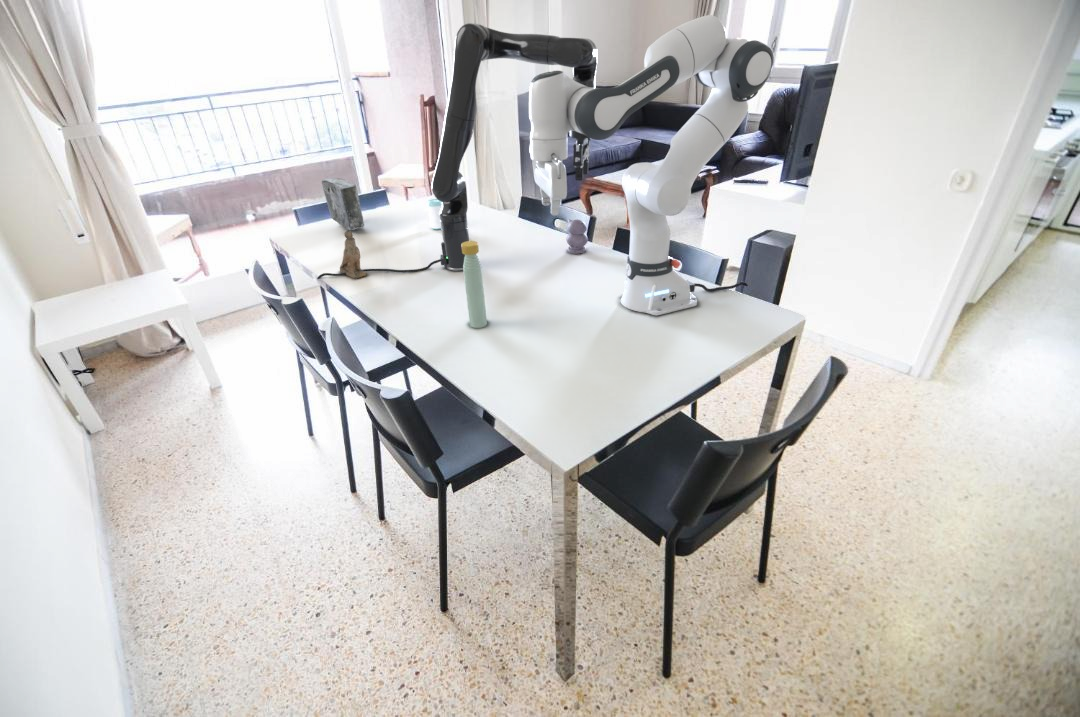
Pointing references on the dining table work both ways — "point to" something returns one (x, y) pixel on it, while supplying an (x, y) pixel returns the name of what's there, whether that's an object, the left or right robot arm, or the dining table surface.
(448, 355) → the dining table surface
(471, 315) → the bottle
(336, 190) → the concrete block
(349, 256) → the brown carved statuette
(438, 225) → the white lidded cup
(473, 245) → the cap
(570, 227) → the cat figurine
